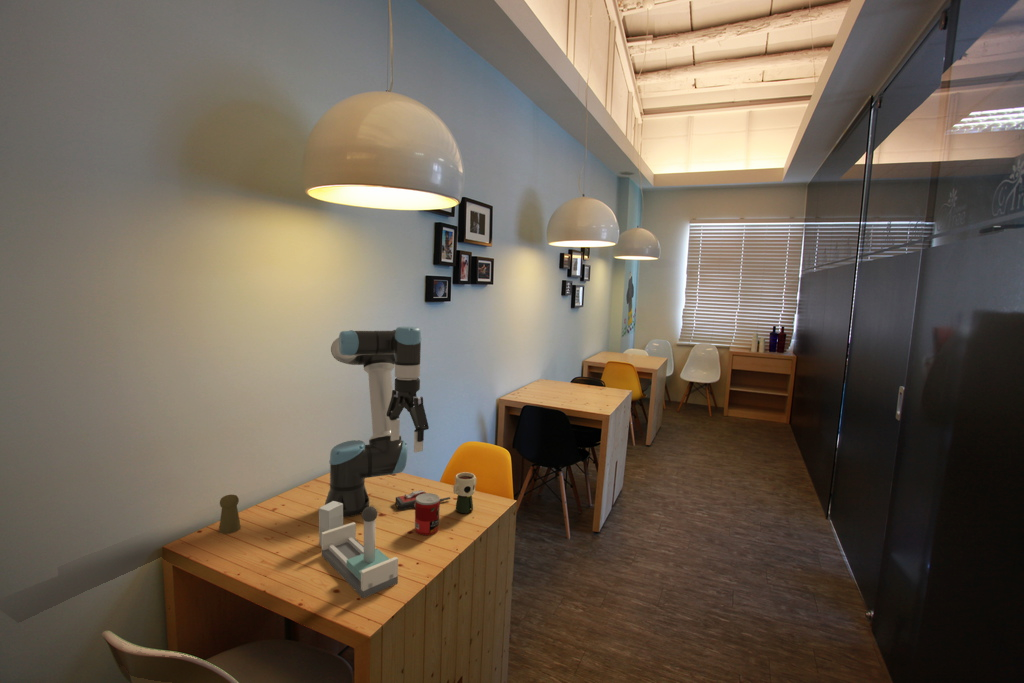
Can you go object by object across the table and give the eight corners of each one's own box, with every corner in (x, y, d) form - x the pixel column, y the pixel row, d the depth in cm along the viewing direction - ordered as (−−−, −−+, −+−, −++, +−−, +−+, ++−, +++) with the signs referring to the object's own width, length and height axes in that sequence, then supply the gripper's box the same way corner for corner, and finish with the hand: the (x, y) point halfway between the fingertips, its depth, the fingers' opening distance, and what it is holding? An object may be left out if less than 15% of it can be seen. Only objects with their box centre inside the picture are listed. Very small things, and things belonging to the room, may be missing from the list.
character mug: (460, 519, 165) (461, 483, 163) (446, 512, 169) (447, 477, 168) (481, 509, 173) (483, 474, 172) (468, 502, 178) (469, 469, 176)
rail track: (321, 555, 140) (321, 532, 139) (353, 543, 146) (354, 522, 146) (362, 598, 121) (363, 572, 120) (397, 583, 128) (398, 558, 127)
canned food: (434, 537, 152) (434, 504, 151) (410, 533, 154) (411, 501, 153) (442, 525, 160) (443, 494, 158) (420, 522, 161) (420, 491, 160)
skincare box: (333, 536, 150) (333, 500, 149) (343, 539, 148) (343, 503, 147) (318, 545, 145) (318, 507, 143) (328, 549, 143) (328, 511, 142)
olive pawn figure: (216, 528, 152) (215, 495, 151) (237, 522, 156) (236, 490, 155) (222, 536, 148) (221, 502, 147) (243, 529, 152) (242, 496, 151)
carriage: (346, 566, 128) (346, 506, 127) (377, 554, 135) (377, 497, 133) (360, 580, 123) (360, 517, 121) (391, 567, 129) (392, 507, 127)
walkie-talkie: (399, 514, 167) (451, 502, 178) (400, 502, 167) (451, 491, 178) (391, 504, 175) (441, 494, 185) (391, 493, 174) (441, 483, 185)
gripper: (441, 383, 138) (439, 454, 140) (397, 370, 156) (396, 433, 158) (419, 386, 133) (418, 459, 135) (376, 372, 151) (375, 437, 153)
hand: (406, 445), depth 146 cm, fingers open, 13 cm apart
